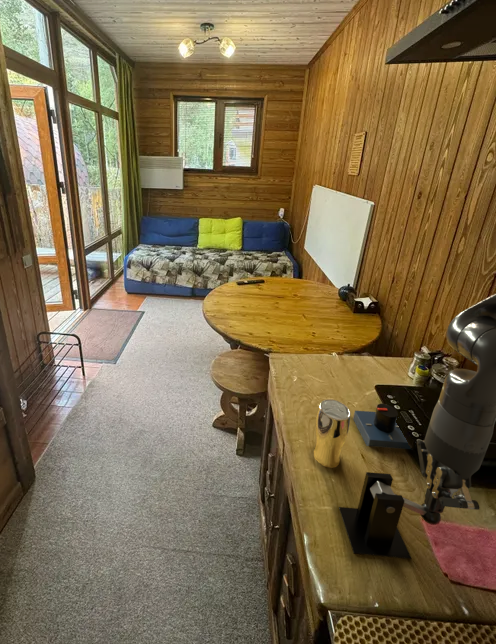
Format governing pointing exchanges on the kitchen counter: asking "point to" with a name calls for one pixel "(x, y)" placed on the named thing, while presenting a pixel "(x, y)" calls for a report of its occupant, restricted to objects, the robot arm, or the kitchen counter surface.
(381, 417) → the knob
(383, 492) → the tap lever
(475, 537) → the kitchen counter surface
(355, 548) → the bracket
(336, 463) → the beer glass
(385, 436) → the valve panel
